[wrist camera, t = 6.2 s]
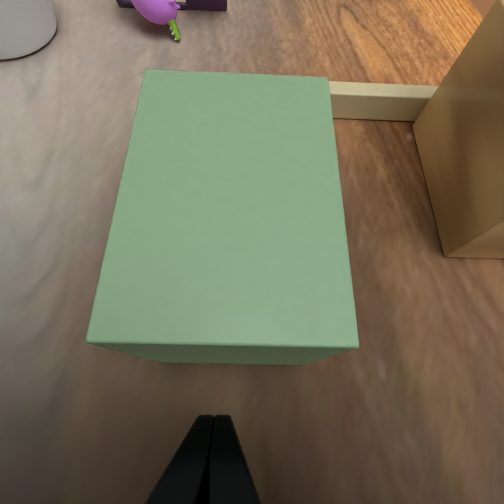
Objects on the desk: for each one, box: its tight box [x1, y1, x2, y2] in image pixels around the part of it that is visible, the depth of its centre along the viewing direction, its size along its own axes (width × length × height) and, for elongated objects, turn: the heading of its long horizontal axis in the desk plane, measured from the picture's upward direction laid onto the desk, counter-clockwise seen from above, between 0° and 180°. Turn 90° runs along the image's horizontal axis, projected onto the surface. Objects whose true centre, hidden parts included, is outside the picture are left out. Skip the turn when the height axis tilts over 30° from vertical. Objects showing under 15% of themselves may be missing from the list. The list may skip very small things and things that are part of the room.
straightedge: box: [329, 81, 439, 121], centre depth 21 cm, size 1×24×2 cm, turn 89°
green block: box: [86, 69, 359, 365], centre depth 13 cm, size 10×7×8 cm
